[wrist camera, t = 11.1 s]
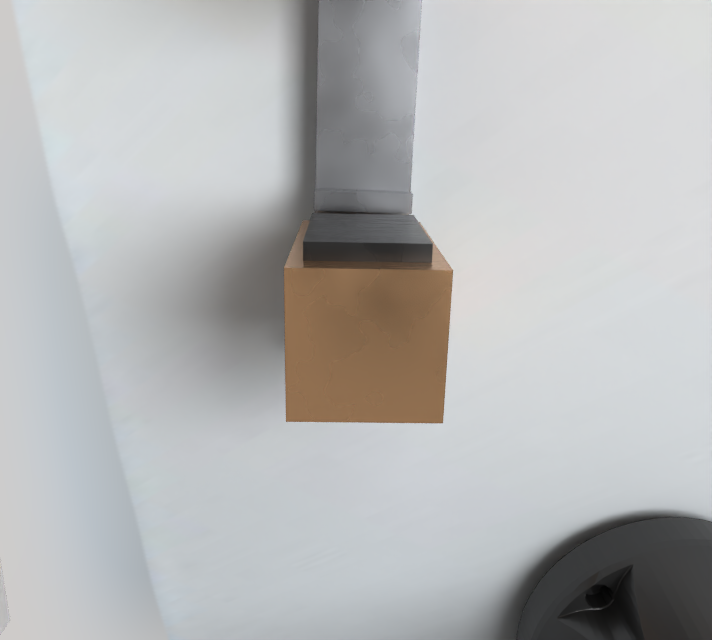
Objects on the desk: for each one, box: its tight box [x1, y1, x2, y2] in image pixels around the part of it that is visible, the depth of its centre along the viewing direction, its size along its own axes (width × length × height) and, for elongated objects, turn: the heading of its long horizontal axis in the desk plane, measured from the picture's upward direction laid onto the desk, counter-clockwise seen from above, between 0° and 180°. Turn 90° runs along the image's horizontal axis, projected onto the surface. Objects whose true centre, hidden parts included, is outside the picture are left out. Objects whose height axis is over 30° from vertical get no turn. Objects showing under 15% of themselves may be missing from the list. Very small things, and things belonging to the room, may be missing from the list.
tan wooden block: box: [284, 213, 453, 423], centre depth 24 cm, size 6×5×9 cm
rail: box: [314, 0, 422, 215], centre depth 23 cm, size 24×5×11 cm, turn 178°
